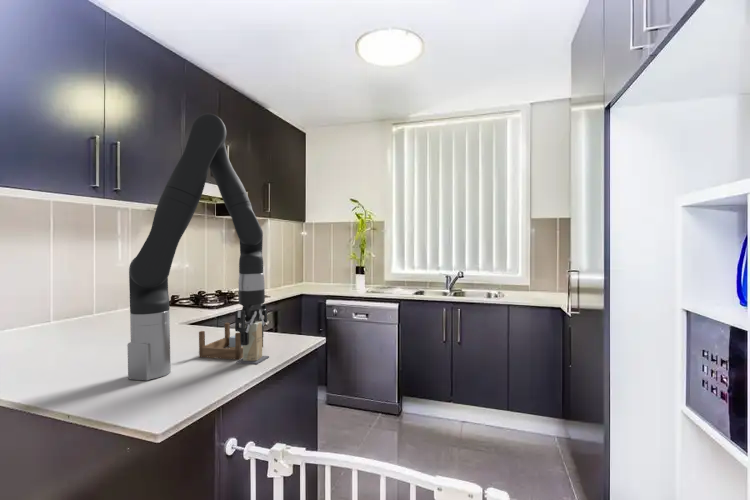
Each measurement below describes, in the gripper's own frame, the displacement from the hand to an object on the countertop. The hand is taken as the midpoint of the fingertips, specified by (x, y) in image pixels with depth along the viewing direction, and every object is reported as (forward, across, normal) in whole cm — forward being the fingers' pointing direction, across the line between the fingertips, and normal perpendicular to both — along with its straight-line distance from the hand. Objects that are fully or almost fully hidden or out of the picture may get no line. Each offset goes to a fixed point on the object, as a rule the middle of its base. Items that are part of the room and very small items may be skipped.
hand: (252, 341), depth 115 cm
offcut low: (+6, +6, +8) cm, 12 cm away
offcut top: (+3, +6, +8) cm, 11 cm away
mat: (+6, 0, 0) cm, 6 cm away
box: (+6, 0, 0) cm, 6 cm away
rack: (+6, +7, +12) cm, 15 cm away
